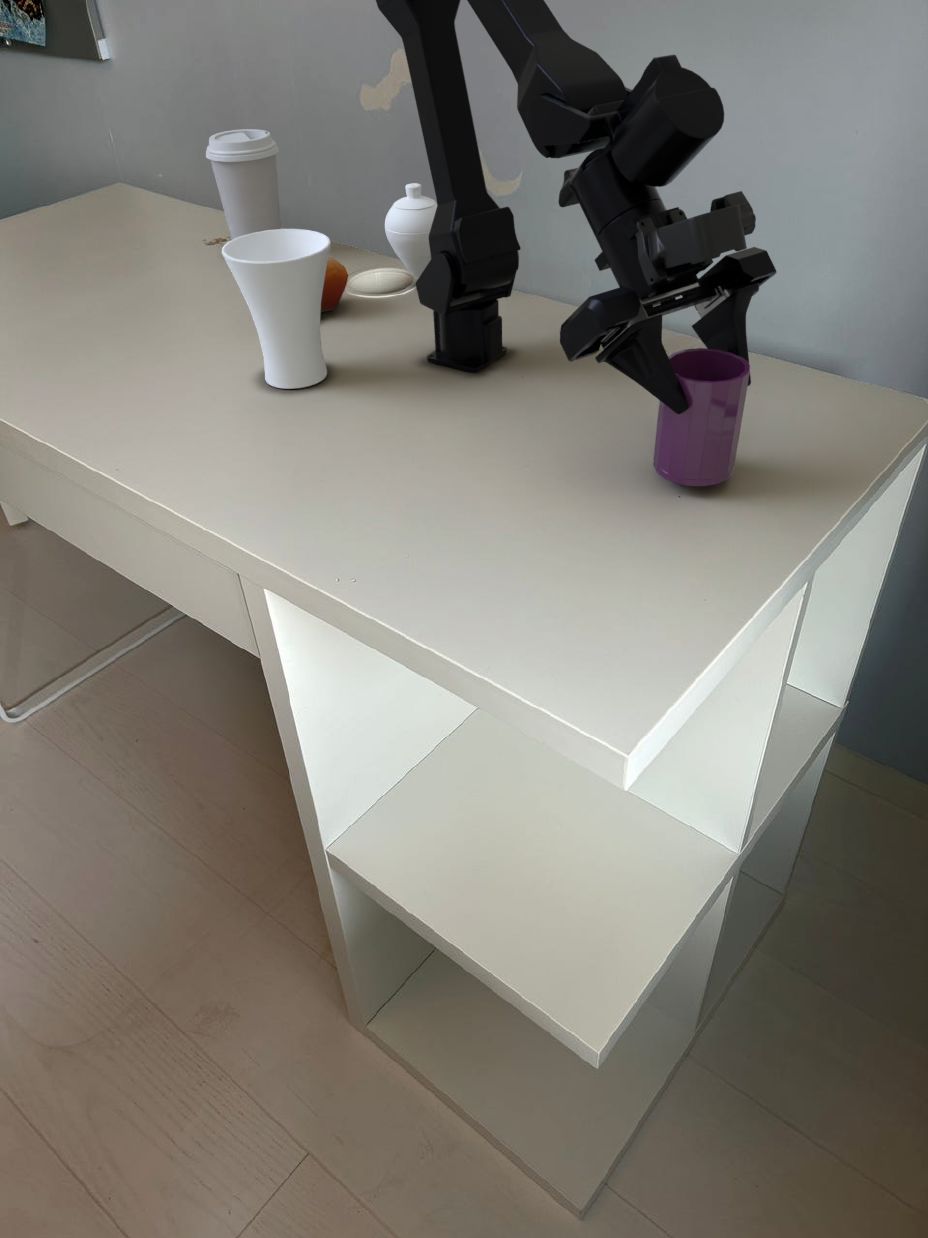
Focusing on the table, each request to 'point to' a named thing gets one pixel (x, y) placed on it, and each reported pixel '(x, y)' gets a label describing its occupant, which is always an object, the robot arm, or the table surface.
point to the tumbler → (702, 418)
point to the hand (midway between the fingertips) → (715, 399)
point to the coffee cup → (246, 179)
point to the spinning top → (411, 228)
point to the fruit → (333, 284)
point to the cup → (284, 299)
